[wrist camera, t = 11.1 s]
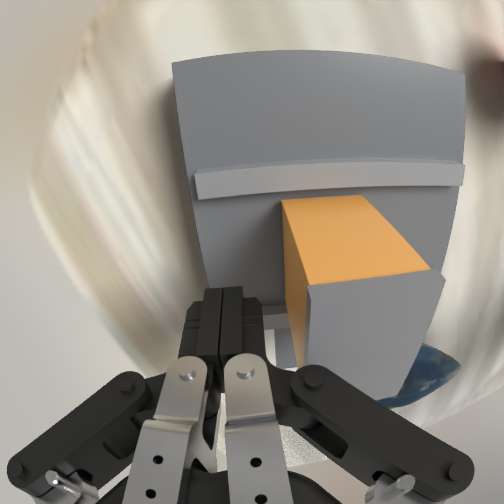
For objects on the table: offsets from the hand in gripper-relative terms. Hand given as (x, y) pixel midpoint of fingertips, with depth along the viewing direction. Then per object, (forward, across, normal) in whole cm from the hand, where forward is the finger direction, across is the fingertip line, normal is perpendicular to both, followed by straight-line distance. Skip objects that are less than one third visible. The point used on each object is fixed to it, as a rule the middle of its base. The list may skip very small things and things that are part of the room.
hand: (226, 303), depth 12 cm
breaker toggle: (+4, -5, 0) cm, 6 cm away
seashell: (+7, -15, +17) cm, 23 cm away
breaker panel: (+7, -6, 0) cm, 9 cm away
